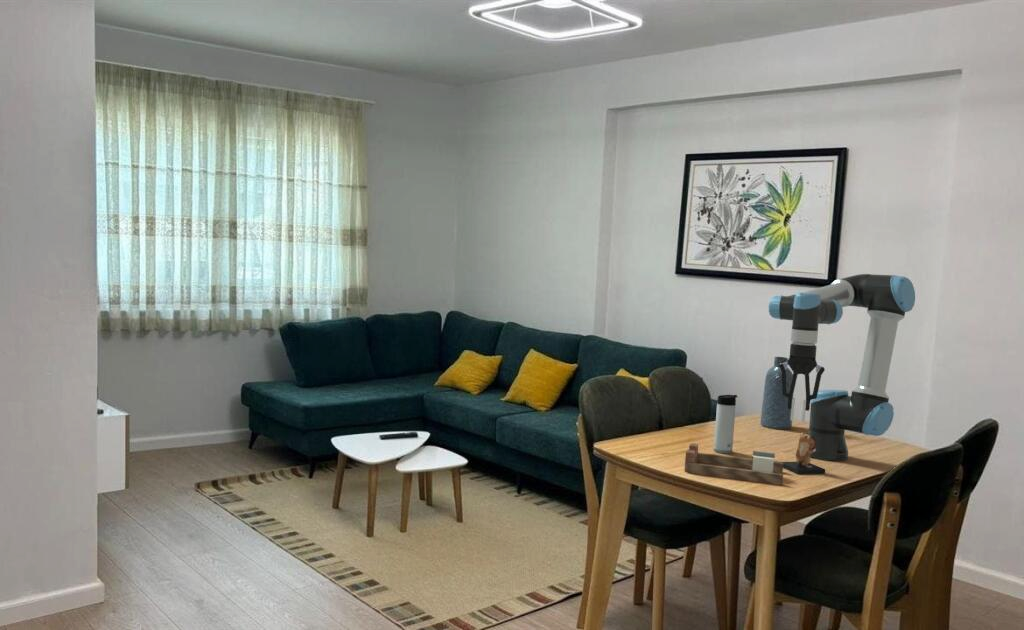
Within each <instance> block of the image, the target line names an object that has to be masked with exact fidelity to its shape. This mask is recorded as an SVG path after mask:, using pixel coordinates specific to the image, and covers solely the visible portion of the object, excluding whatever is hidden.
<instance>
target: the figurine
mask: <svg viewBox="0 0 1024 630" xmlns="http://www.w3.org/2000/svg"><path fill="white" fill-rule="evenodd" d="M814 447H815V442H814V441H813V439H812V438H811V437H810V435H809V436H808V434H805V433H804V432H800V433H799V440H798V444H797V448H796V449H797V450H796V453H795V460H796V461H780V462H781V463H783V470H787V471H788V472H791V473H794V474H796V475H824V474H826V469H825V468H823V467H820V466H819V465H816V464H813V463H811V457H810V454H811V453H813V452H815V451H816V449H813V448H814ZM812 449H813V450H812Z"/></svg>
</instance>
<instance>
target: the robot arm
mask: <svg viewBox="0 0 1024 630" xmlns="http://www.w3.org/2000/svg"><path fill="white" fill-rule="evenodd" d="M915 290H916V289H915V287H914V284H913V283H912V281H911V279H909V277H906V276H900V275H892V274H870V273H862V274H855V275H851V276H847V277H843V278H838V279H835V280H834V281H833V282H831V283H830V284H829V285H824V286H821V287H817V288H813V289H810V290H807V291H804V292H797V293H795V294H792V295H774V296H773V297H772V298H770V300H769V301H768V313H769V315H770V317H771V318H773V319H778V320H781V321H782V320H785V321H792V325H791V332H790V334H791V335H790V342H792V343H790V348H789V357H788V361H787V362H785V363H780V364H779V367H780V369H781V371H782V394H783V396H786V397H787V398H788V409H791V420H792V422H793V421H794V413H795V405H796V404H795V401H796V398H795V397H794V394H795V393H794V392H795V387H796V384H797V379H798V375H801V374H802V375H804V385H805V386H804V387H805V398H803V399H802V401H803V402H802V410H801V411H802V412H801V422H803V423H804V422H805V421H806V419H805V418H806V411H807V412H810V413H809V428H808V433H807V435H808V436H809V435H810V437H811V438H812V439H813V441H814V442H815V447H814V448H813V449H816V451H815V452H813V453H811V454H810V458H812V459H818V460H822V461H823V460H825V461H833V462H834V461H837V462H838V461H839V462H840V461H841V462H842V461H846V460H848V459H849V449H848V446H847V441H846V437H845V434H846V433H845V431H848V432H853V433H856V434H857V433H859V434H863V435H864V436H865V435H866V436H874V437H879V436H882V435H884V434H885V433H887V431H888V430H889V428H890V427H891V425H892V422H893V421H894V420H893V419H894V413H895V411H894V406H893V405H892V403H891V402H889V399H890V396H889V395H888V394H887V393H886V389H887V384H888V378H889V373H890V368H891V363H892V358H893V352H894V347H895V340H896V336H897V331H898V325H899V322H901V321H902V320H903V319H905V314H906V313H908V312H911V311H912V310H913V308H914V306H915V301H916V291H915ZM846 307H858V308H865V309H867V311H866V313H867V314H868V315H869V317H870V321H869V325H868V331H867V335H866V342H865V348H864V353H863V356H862V358H863V359H862V362H861V369H860V372H859V378H858V383H857V384H858V385H857V387H856V388H854V389H853V390H852V391H851V394H850V395H849V392H848V391H847V390H843V389H822V390H821V389H820V384H821V378H822V374H824V372H825V367H824V366H821V365H819V364H818V362H817V360H816V359H817V344H818V333H819V325H831V324H836V323H839V321H841V319H842V317H843V313H844V309H843V308H846ZM788 366H789V369H790V370H791V372H792V374H793V377H792V381H791V386H790V390H789V393H788V392H787V391H786V369H787V367H788ZM814 369H815V372H816V376H815V381H814V386H813V391H812V394H811V386H810V374H811V373H812V371H814ZM819 389H820V390H819ZM813 449H812V450H813Z"/></svg>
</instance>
